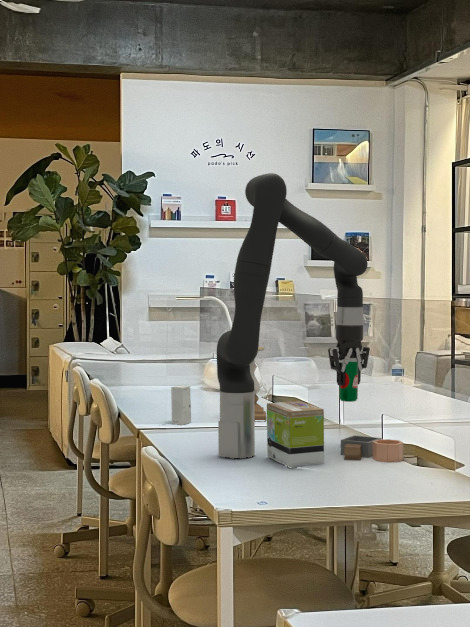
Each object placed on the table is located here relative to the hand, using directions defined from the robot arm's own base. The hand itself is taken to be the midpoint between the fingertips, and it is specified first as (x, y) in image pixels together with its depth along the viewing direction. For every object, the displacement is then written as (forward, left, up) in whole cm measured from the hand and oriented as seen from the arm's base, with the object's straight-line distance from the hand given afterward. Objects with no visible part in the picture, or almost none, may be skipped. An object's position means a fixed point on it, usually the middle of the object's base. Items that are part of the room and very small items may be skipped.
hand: (348, 384), depth 265 cm
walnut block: (-16, -9, -18) cm, 25 cm away
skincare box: (+10, +65, -18) cm, 68 cm away
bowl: (-12, -17, -18) cm, 27 cm away
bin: (-9, -8, -18) cm, 21 cm away
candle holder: (+29, +51, -18) cm, 61 cm away
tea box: (-25, +3, -18) cm, 31 cm away
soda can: (0, 0, -5) cm, 5 cm away
